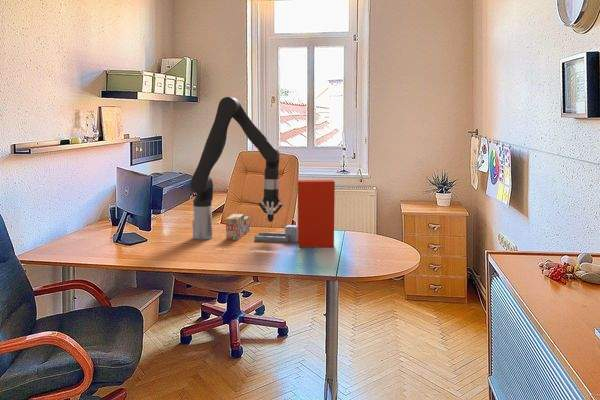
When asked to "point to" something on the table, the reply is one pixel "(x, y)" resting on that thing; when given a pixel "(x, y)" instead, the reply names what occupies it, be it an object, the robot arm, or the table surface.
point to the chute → (272, 237)
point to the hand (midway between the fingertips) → (270, 221)
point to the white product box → (236, 226)
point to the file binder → (316, 213)
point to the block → (292, 232)
